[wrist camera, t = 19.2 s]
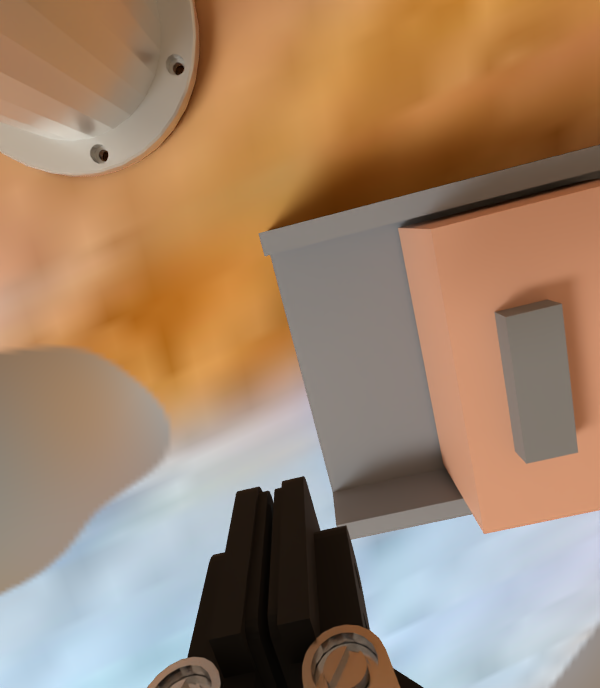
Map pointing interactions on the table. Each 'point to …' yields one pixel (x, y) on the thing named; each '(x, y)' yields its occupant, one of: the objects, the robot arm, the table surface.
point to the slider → (514, 350)
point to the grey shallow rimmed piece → (382, 343)
